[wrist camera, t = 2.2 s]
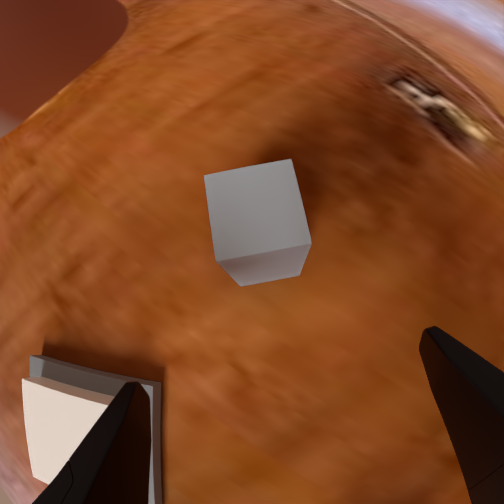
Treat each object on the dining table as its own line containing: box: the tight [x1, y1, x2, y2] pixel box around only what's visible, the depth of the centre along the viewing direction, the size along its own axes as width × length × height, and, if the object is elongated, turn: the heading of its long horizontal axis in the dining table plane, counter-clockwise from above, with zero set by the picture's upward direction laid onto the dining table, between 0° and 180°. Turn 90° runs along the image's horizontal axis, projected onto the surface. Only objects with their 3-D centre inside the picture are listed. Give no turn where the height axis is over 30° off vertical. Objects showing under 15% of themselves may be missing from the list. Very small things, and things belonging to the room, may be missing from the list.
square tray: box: [30, 355, 162, 504], centre depth 20 cm, size 12×12×2 cm
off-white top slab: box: [22, 376, 115, 484], centre depth 18 cm, size 9×9×2 cm
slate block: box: [204, 159, 312, 286], centre depth 19 cm, size 4×4×9 cm
